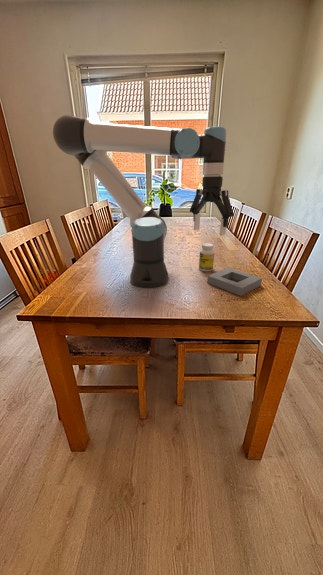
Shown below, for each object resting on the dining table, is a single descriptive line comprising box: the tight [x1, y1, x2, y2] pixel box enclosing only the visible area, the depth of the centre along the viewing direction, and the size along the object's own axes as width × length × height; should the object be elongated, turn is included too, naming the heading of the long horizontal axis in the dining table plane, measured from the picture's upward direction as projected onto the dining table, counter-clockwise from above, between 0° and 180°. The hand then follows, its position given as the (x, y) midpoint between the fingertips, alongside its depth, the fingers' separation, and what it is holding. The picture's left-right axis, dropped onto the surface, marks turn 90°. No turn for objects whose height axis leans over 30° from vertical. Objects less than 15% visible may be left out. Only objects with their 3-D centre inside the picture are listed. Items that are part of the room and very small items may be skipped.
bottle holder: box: [206, 267, 263, 297], centre depth 94 cm, size 13×15×3 cm
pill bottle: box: [198, 242, 215, 272], centre depth 107 cm, size 6×6×11 cm
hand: (209, 232), depth 102 cm, fingers open, 13 cm apart
